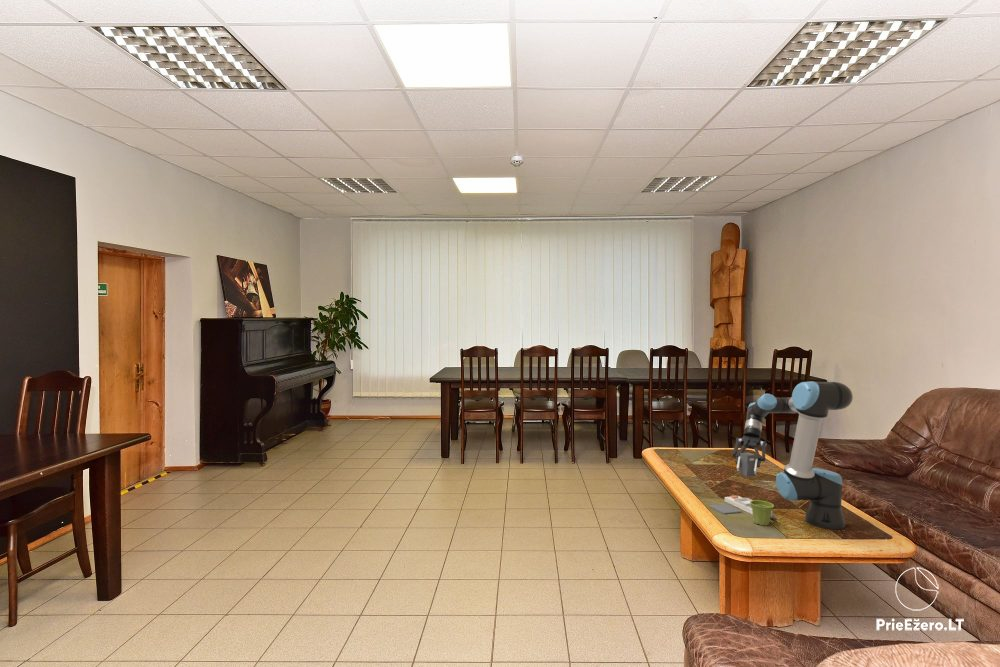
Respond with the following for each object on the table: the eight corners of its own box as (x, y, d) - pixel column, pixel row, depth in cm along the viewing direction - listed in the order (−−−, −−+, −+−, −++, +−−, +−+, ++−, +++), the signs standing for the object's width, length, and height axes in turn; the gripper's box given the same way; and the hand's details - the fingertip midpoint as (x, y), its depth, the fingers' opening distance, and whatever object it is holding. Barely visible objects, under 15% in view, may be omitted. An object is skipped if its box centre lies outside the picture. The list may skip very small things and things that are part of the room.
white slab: (783, 520, 240) (783, 513, 240) (768, 522, 238) (768, 515, 238) (738, 499, 267) (738, 493, 267) (724, 501, 265) (724, 494, 265)
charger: (755, 476, 254) (756, 454, 254) (747, 476, 253) (747, 455, 253) (747, 473, 259) (748, 452, 259) (739, 473, 258) (740, 452, 257)
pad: (741, 512, 250) (741, 511, 250) (723, 514, 247) (723, 513, 247) (726, 505, 259) (726, 503, 259) (709, 506, 256) (709, 505, 256)
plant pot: (745, 518, 242) (746, 499, 242) (767, 519, 241) (767, 500, 241) (754, 526, 232) (755, 506, 232) (777, 527, 232) (777, 507, 232)
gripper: (775, 437, 263) (770, 479, 250) (732, 432, 274) (724, 471, 261) (774, 428, 259) (769, 470, 245) (730, 423, 269) (723, 463, 256)
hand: (746, 470), depth 253 cm, fingers closed on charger, 7 cm apart
